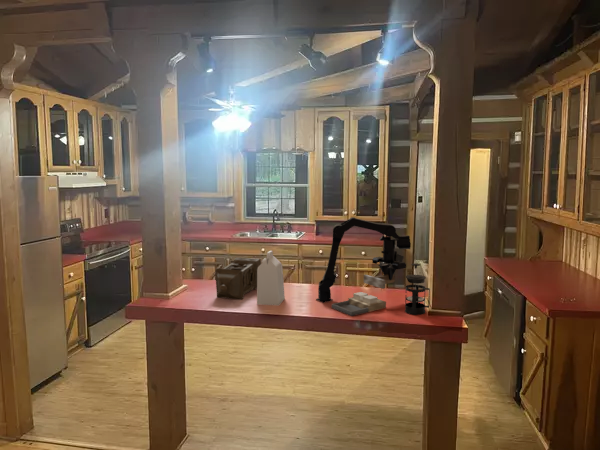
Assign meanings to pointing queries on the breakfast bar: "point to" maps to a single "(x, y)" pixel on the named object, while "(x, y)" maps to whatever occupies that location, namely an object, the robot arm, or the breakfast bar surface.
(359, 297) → the tile
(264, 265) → the milk
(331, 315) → the breakfast bar surface
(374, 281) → the scraper
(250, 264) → the ornamental box
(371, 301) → the tile
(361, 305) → the deck
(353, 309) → the box
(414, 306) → the french press
